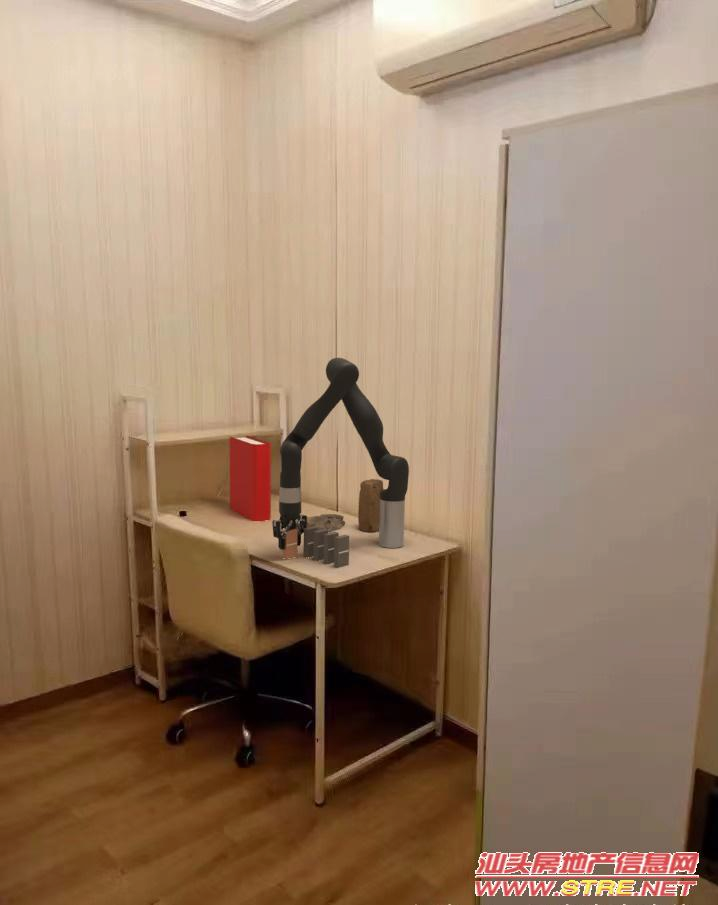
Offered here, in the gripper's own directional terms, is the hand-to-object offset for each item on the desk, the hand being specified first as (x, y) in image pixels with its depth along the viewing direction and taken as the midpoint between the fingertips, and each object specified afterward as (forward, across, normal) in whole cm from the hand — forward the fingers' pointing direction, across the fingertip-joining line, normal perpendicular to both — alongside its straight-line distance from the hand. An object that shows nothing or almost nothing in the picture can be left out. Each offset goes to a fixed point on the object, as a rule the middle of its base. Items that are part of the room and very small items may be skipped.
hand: (289, 547), depth 251 cm
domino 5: (+4, +7, -18) cm, 20 cm away
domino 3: (+4, +7, -8) cm, 11 cm away
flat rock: (+4, +38, +22) cm, 44 cm away
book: (+4, +29, +59) cm, 66 cm away
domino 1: (+4, 0, 0) cm, 4 cm away
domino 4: (+4, +7, -13) cm, 15 cm away
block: (+4, +49, +7) cm, 50 cm away
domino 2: (+4, +7, -3) cm, 8 cm away
